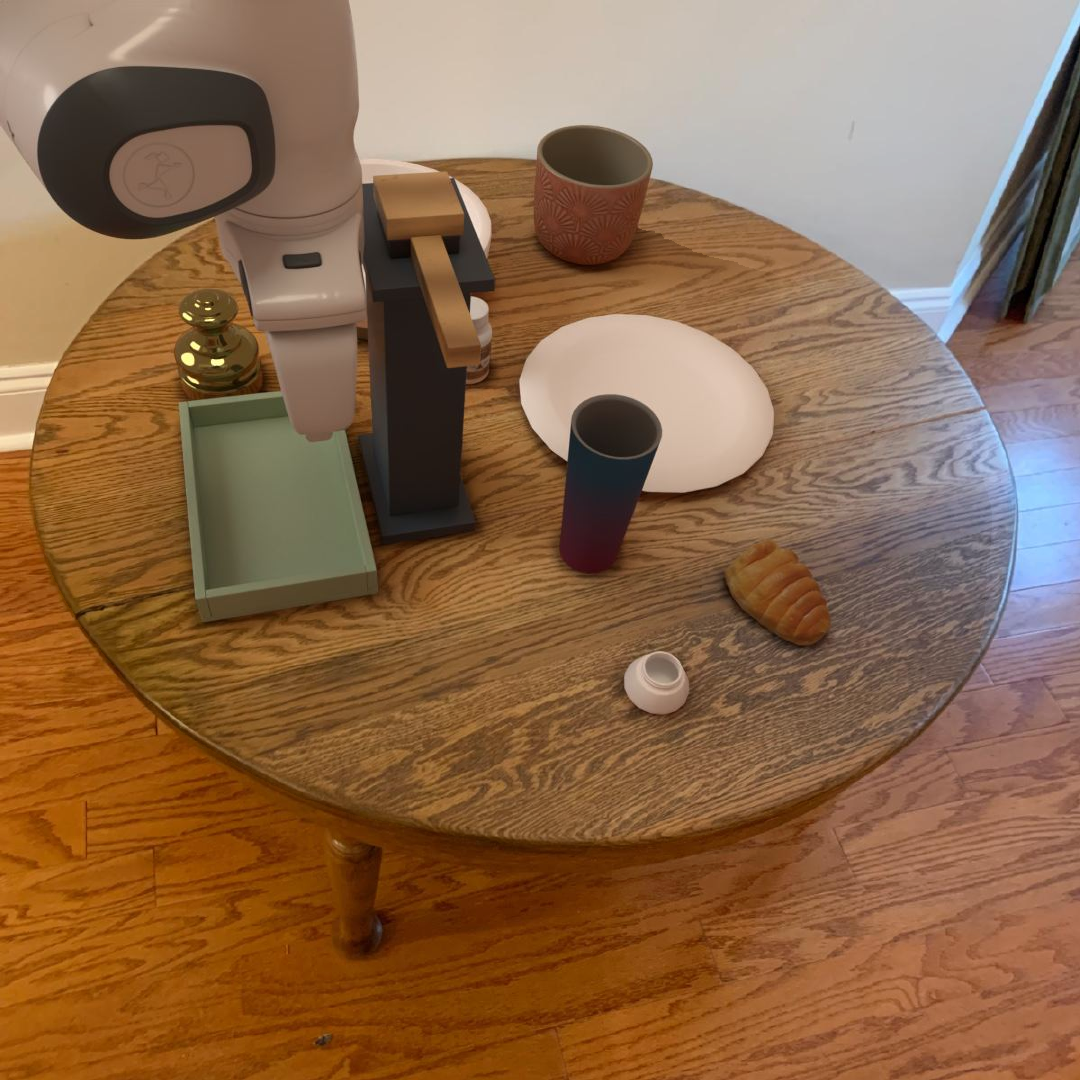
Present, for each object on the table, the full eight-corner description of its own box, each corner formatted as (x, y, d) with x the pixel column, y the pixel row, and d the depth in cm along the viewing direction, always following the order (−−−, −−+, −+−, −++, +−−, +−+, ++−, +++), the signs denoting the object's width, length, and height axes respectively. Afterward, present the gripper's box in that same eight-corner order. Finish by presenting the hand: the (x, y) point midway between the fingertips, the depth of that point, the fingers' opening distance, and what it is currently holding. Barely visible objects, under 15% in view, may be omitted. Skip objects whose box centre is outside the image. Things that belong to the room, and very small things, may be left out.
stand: (382, 545, 82) (372, 289, 61) (358, 443, 88) (342, 184, 68) (475, 531, 84) (495, 279, 63) (444, 432, 90) (454, 177, 70)
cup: (640, 571, 83) (678, 448, 71) (567, 591, 81) (593, 467, 69) (607, 512, 86) (638, 386, 75) (536, 530, 84) (557, 403, 73)
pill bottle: (462, 391, 94) (465, 328, 88) (435, 366, 96) (437, 302, 90) (498, 375, 96) (503, 312, 90) (471, 350, 98) (475, 287, 92)
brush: (504, 362, 58) (508, 322, 56) (422, 371, 57) (422, 331, 55) (446, 210, 68) (447, 170, 65) (374, 215, 66) (372, 175, 64)
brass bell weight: (242, 347, 95) (227, 261, 87) (277, 393, 91) (265, 307, 84) (169, 373, 92) (146, 285, 84) (203, 421, 88) (183, 334, 80)
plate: (743, 538, 86) (748, 525, 85) (479, 452, 89) (480, 439, 88) (789, 366, 102) (794, 354, 100) (563, 299, 105) (565, 286, 103)
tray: (202, 623, 75) (195, 599, 73) (184, 427, 88) (178, 401, 85) (378, 593, 78) (377, 570, 76) (337, 409, 91) (335, 384, 89)
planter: (580, 290, 106) (594, 200, 98) (505, 234, 111) (513, 144, 103) (656, 251, 112) (677, 164, 104) (582, 200, 117) (596, 113, 109)
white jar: (688, 719, 74) (685, 663, 77) (697, 700, 72) (693, 642, 75) (623, 713, 74) (622, 657, 77) (630, 694, 72) (629, 637, 75)
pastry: (844, 627, 81) (860, 601, 78) (786, 664, 78) (801, 638, 75) (768, 550, 86) (780, 523, 83) (710, 582, 83) (721, 555, 80)
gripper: (221, 132, 65) (248, 302, 75) (255, 329, 53) (281, 497, 63) (317, 128, 66) (330, 294, 77) (372, 318, 54) (377, 484, 65)
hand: (308, 388), depth 70 cm, fingers open, 8 cm apart
